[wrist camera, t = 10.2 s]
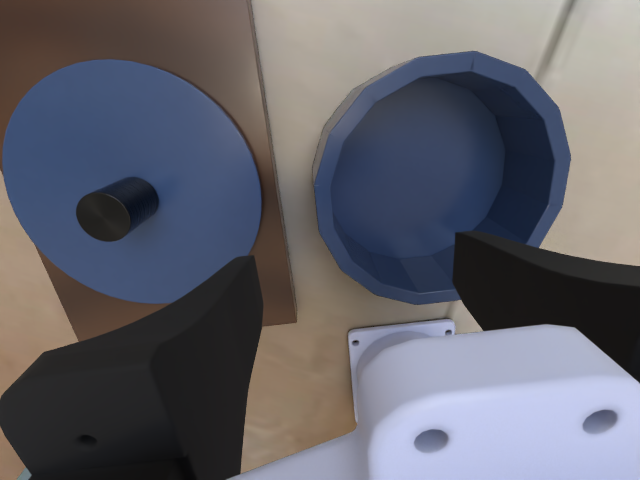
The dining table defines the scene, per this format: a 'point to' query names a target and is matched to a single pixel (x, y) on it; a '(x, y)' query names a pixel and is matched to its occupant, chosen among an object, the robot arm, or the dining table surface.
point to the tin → (436, 170)
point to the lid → (130, 179)
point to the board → (172, 56)
